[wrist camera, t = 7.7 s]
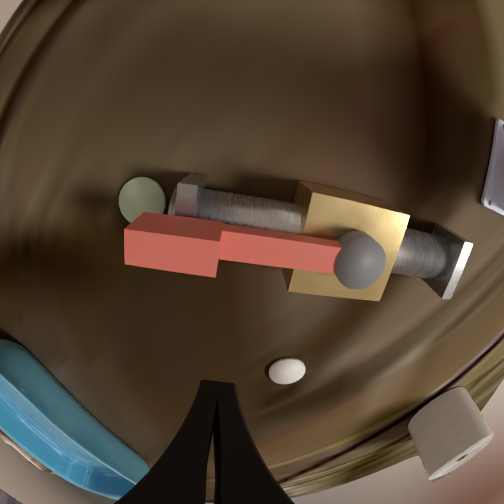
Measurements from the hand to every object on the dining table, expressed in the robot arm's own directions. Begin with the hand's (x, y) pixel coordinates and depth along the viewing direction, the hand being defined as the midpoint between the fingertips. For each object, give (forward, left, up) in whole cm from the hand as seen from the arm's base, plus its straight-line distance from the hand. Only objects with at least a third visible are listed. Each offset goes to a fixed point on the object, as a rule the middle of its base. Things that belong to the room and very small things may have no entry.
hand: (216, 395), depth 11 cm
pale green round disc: (+6, -5, -10) cm, 13 cm away
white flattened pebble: (-6, +8, -10) cm, 14 cm away
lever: (-2, -5, -6) cm, 8 cm away
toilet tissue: (-33, +19, -10) cm, 40 cm away
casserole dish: (+22, +27, -10) cm, 36 cm away
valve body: (-6, -5, -10) cm, 13 cm away
